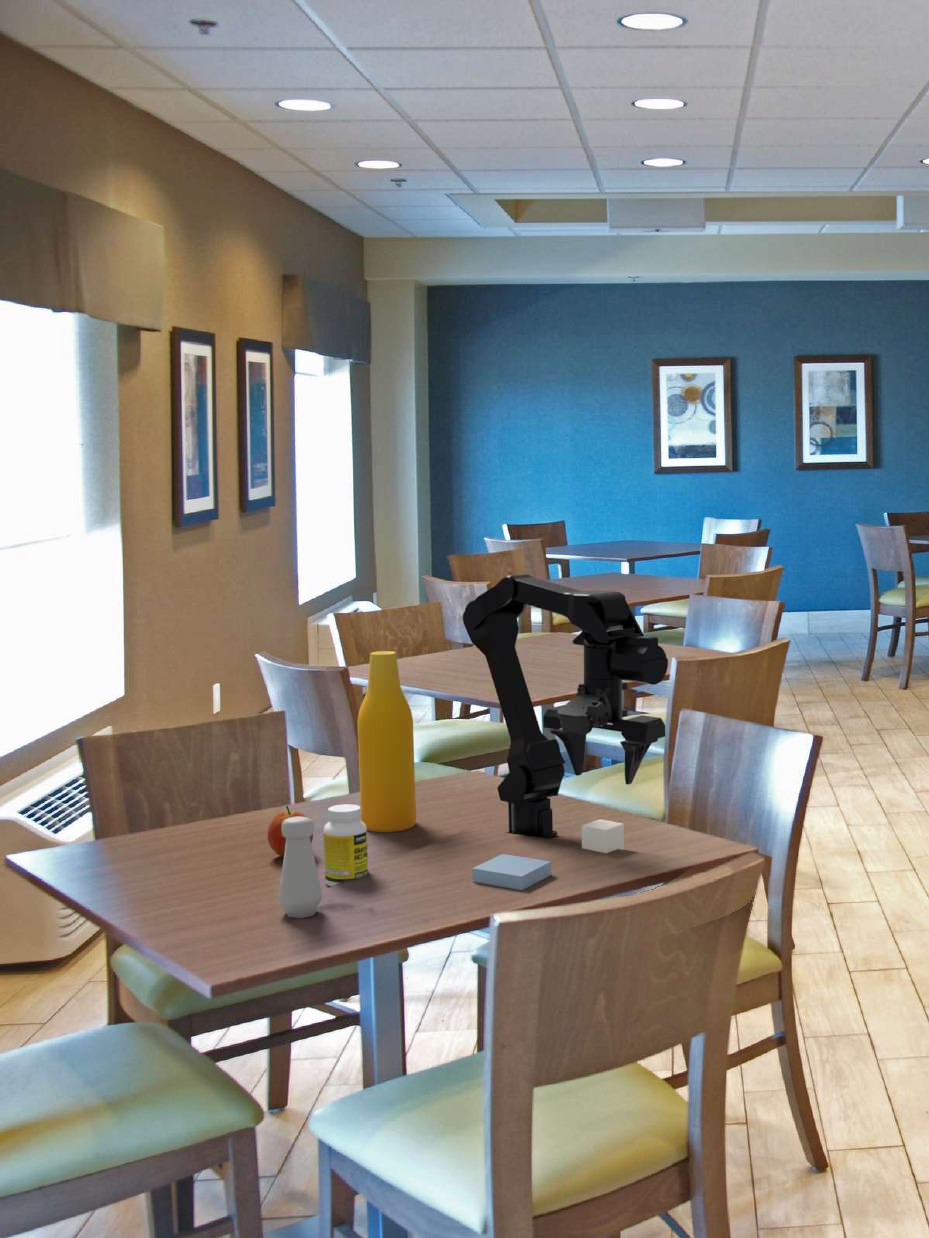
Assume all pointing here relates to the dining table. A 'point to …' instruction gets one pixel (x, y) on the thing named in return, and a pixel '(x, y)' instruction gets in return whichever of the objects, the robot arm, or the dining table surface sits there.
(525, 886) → the slate slab
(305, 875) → the salt shaker
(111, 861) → the dining table surface
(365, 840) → the pill bottle
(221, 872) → the dining table surface
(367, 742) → the beer bottle
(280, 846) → the fruit
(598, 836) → the cream block
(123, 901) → the dining table surface
